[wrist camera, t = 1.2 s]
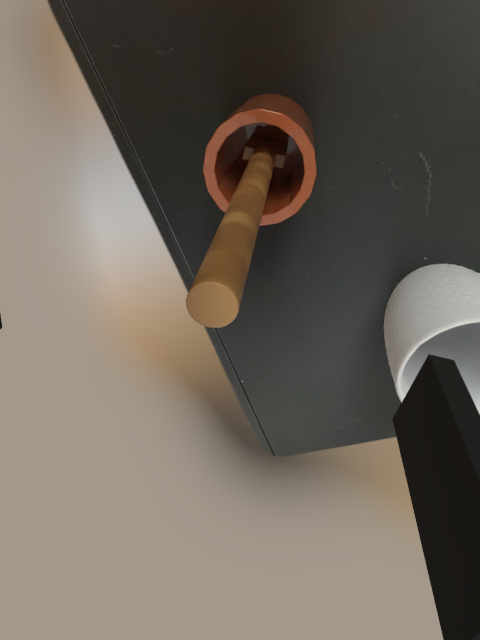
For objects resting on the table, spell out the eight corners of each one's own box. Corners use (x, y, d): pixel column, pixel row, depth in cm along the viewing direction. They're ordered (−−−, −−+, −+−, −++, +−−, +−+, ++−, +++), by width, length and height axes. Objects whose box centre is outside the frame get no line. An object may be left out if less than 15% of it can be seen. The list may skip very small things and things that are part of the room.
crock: (234, 83, 36) (213, 97, 27) (325, 105, 36) (330, 125, 27) (219, 176, 40) (196, 212, 32) (300, 195, 40) (298, 236, 32)
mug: (539, 221, 39) (630, 294, 28) (533, 324, 44) (608, 418, 33) (366, 257, 42) (387, 333, 31) (380, 347, 48) (402, 438, 37)
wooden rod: (248, 150, 38) (163, 317, 15) (252, 129, 37) (168, 271, 14) (284, 159, 38) (252, 338, 15) (289, 137, 37) (264, 294, 14)
